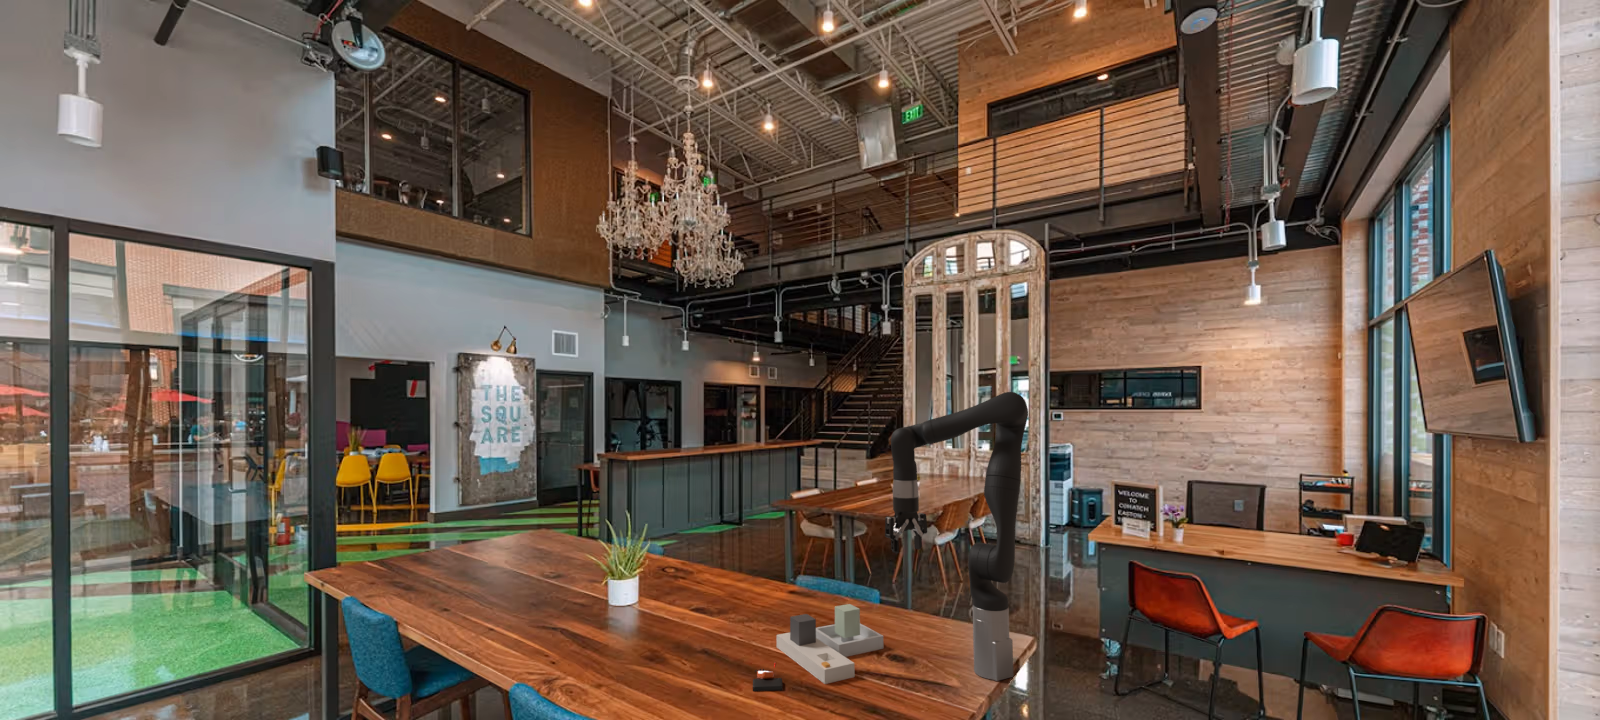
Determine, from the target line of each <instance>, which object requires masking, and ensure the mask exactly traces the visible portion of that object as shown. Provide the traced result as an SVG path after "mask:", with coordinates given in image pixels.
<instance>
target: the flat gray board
mask: <svg viewBox="0 0 1600 720" xmlns="http://www.w3.org/2000/svg"><path fill="white" fill-rule="evenodd" d="M776 649H778V650H779V651H781V652H782V653H783V654H785V655H786V656H787V657H789V658H790V659H791V660H793V662H795V663H797V664H798V665H799V666H800V667H802V668H803V669H804V670H806V671H807V672H808V673H810V674H811V675H813V677H814V678H816V679H817V680H819V681H820V682H821V683H822V684H824V685H827V684H831V683H835V682H839V681H843V680H847V679H852V678H855V676H856V675H855V674H856V673H855V662H854V661H852V660H850V659H849V658H848V657H844V656H843V655H841V654H840V653H838V652H837V651H835V650H834V649H832V648H831V647H829V646H828V645H826V644H824V643H823V642H821V641H820V640H818V639H817V638H816V643H811V644H806V645H801V646H798V645H797V644H796V643H794V642H793V641H791V640H790V632H785V633H780V634H779V633H778V634H776Z"/></svg>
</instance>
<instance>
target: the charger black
mask: <svg viewBox="0 0 1600 720" xmlns="http://www.w3.org/2000/svg"><path fill="white" fill-rule="evenodd" d="M789 618H790V620H789V624H790V625H789V626H790V627H789V631H790V640H791V641H793V642H794V643H796V644H797V645H798V646H801V645H806V644H811V643H816V628H817V627H816V626H817V621H816V618H815V617H813V616H811V615H809V614H807V613H803V614H799V615H792V616H789Z"/></svg>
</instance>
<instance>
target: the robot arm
mask: <svg viewBox="0 0 1600 720" xmlns="http://www.w3.org/2000/svg"><path fill="white" fill-rule="evenodd" d="M1028 418H1029V409H1028V405H1027V403H1026V400H1025V399H1024V397H1023V396H1022V395H1020V394H1019V393H1017V392H1015V391H1006V392H1003V393H1000V394H998V395H995V396H993V397H992V398H989V399H987V400H986V401H984V402H981V403H978V404H976V405H973V406H970V407H968V408H965V409H963V410H960V411H956V412H952V413H950V414H946V415H943V416H938V417H936V418H931V419H928V420H926V421H924V422H922V423H917V424H913V425H908V426H903V427H900V428H897V429H895V430H894V431H893V433H892V434H891V438H890V451H891V457H892V462H893V465H892V466H893V467H892V469H893V471H892V473H893V475H892V477H893V481H892V510H893V512H894V515H893V516H887V515H886V517H884V518H885V523H884V524H885V526H884V537H885V538H887V539H890V550H891V551H892V553H894V554H899V552H900V550H899V549H900V546H899V545H900V544H899V543H900V541H899V538H900V536H901V535H903V533H904V532H905V531H909V530H910V531H912V532H913V534H914V537H913V538H914V539H913V542H914V543H913V545H914V547H913V548H914V549H916V550H922V546H923V535H925V534H928V522H927V514H926V513H924V512H919V510H920V505H919V504H920V503H919V497H920V496H919V485H918V484H919V483H918V465H917V462H916V460H915V449H917V448H920V447H924V446H926V445H933V444H937V443H938V444H939V443H943V442H944V441H945V442H946V441H948V440H952V439H955V438H957V437H959V436H962V435H965V434H966V433H968V432H970V431H973V430H974V429H977V428H979V427H983V426H984V427H985V426H988V425H991V424H992V425H993V424H995V436H994V437H995V439H994V446H993V449H992V451H991V455H990V457H989V462H988V464H987V467H986V473H985V479H984V480H985V481H984V487H983V495H984V498H985V502H986V504H987V506H988V509H989V511H990V514H991V515H992V517H993V520H994V522H995V527H996V544H990V543H986V542H985V543H984V542H976V543H974V544H973V545H972V546H971V548H970V550H969V552H968V553H969V554H968V559H967V560H968V576H969V577H968V578H969V592H970V596H971V599H972V637H973V639H972V640H973V671H974V673H975V674H976V675H977V676H979V677H981V678H984V679H987V680H988V679H989V680H994V681H996V682H998V681H1003V680H1005V679H1009V678H1012V677H1014V651H1013V649H1014V647H1013V645H1014V644H1013V639H1012V638H1011V637H1010V611H1009V605H1010V604H1009V597H1008V596H1007V595H1006V594H1005V593H1004V592H1003V591H1001V590H1000V589H999V588H997V587H996V586H995V585H994V584H993V582H996V583H1001V584H1006V583H1008V582H1010V580H1011V578H1012V577H1013V574H1014V569H1015V559H1016V556H1015V555H1016V553H1015V552H1016V526H1017V525H1016V523H1017V513H1018V504H1019V498H1020V489H1021V480H1022V479H1021V478H1022V446H1023V439H1024V434H1025V428H1026V425H1027V422H1028Z"/></svg>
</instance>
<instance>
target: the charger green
mask: <svg viewBox="0 0 1600 720" xmlns="http://www.w3.org/2000/svg"><path fill="white" fill-rule="evenodd" d="M860 609H861V608H859V607H857V606H855V605H853V604H851V603H848V604H842V605H841V604H840V605H836V606H834V624H835V633H837V634H838V635H840V636H841V641H842V642H848V641H853V640H854V636H858V635H860V623H861V616H860V615H861V612H860V611H861V610H860Z"/></svg>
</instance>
